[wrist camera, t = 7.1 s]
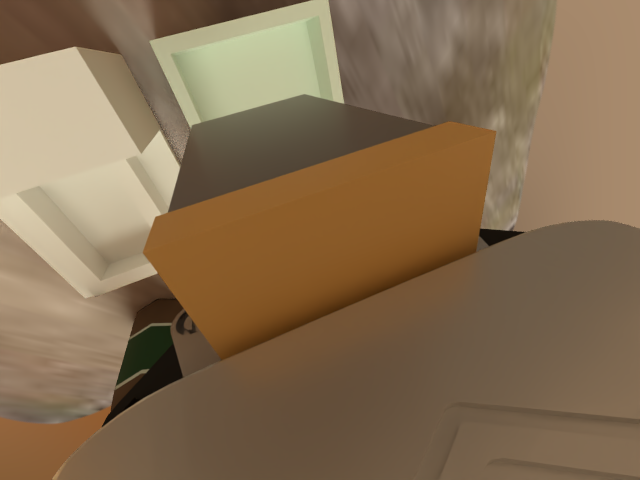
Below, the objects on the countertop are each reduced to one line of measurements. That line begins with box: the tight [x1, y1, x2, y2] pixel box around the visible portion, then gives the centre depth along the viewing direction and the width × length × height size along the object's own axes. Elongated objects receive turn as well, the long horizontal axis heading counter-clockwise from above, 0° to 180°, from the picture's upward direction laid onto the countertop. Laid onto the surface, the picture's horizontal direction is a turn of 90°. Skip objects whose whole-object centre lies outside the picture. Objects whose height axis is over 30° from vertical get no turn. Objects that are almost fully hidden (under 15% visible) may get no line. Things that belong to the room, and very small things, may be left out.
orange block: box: [143, 94, 496, 360], centre depth 10 cm, size 9×5×10 cm, turn 12°
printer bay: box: [0, 47, 181, 299], centre depth 23 cm, size 20×16×10 cm
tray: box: [149, 0, 344, 128], centre depth 27 cm, size 16×14×4 cm
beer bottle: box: [111, 299, 184, 411], centre depth 28 cm, size 8×8×24 cm
